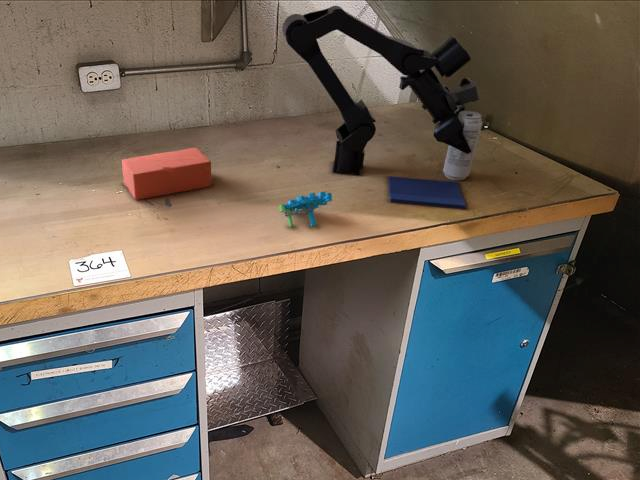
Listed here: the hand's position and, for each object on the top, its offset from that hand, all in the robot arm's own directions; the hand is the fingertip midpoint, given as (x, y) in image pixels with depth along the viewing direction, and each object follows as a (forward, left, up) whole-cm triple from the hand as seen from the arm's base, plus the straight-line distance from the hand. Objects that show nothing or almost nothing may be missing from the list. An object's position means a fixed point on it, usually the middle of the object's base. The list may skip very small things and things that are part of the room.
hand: (469, 145), depth 139 cm
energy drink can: (-2, 0, -8) cm, 8 cm away
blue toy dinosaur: (-35, -29, -8) cm, 47 cm away
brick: (-67, -19, -8) cm, 71 cm away
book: (-9, -11, -8) cm, 16 cm away
